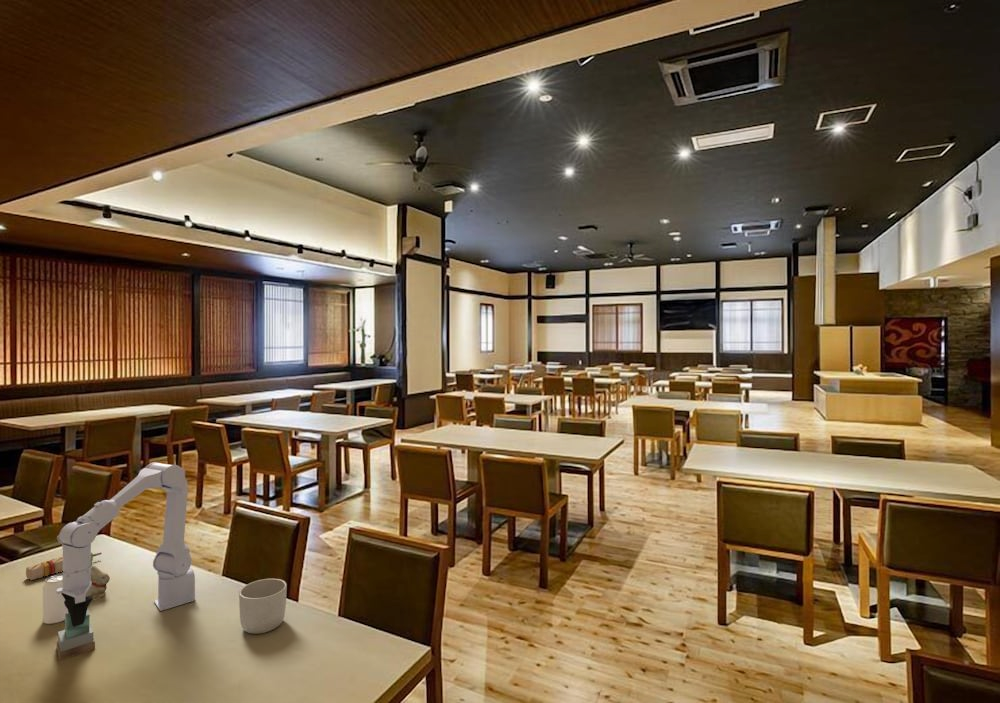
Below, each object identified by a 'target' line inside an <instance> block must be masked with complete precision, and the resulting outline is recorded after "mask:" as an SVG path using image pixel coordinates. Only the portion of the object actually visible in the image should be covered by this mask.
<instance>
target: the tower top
mask: <svg viewBox="0 0 1000 703" xmlns="http://www.w3.org/2000/svg"><path fill="white" fill-rule="evenodd" d="M93 638H94V630H93V628H92V625H91V622H90V621H89V632H86V633H83V634H80V635H76V636H73V637H70V638H67V637H66V633H65V629H63V630H59V631H57V641H58V643H59V647H60V651H61V652H62V651H65V650H68V649H71V648H75V647H78V646H81V645H84V644H87V643H90V642H93Z"/></svg>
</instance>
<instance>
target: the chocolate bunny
mask: <svg viewBox="0 0 1000 703" xmlns="http://www.w3.org/2000/svg"><path fill="white" fill-rule="evenodd" d="M110 580H111V579H110V575H109V574H108V573H107V572H103V571H101V570H100V568H98V567H97V566H95V565H91V582H92V585H91V587H90V588H89V590H88V591H87V593H86V596H85V597H87V596H90V595H92V596H93V599H92V601H94V599H95V600H98V599H102V598H104V597H106V595H107V592H106V591H107V584H108V583H109V581H110ZM103 596H104V597H103Z"/></svg>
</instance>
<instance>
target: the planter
mask: <svg viewBox="0 0 1000 703" xmlns="http://www.w3.org/2000/svg"><path fill="white" fill-rule="evenodd" d="M287 585H288V584H287V582H286V581H285V580H283V579H281V578H264V579H258V580H255V581H252V582H249V583H247V584H246V585H244V586H243V587H241V588H240V590H239V591H238V596H239V599H238V600H239V601H238V602H239V603H238V606H239V621H240V626H241V628H242V629H243V631H245V632H246V633H247V634H248V633H249V634H254V635H256V634H257V635H258V634H259V635H260V634H264V633H268V632H271V631H272V630H275V629H276V628H277V627H279V626H280V625H281V624H282V623H283V621H284V619H285V614H286V609H287V590H288V589H287V588H288V587H287Z"/></svg>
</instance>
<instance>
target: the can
mask: <svg viewBox="0 0 1000 703" xmlns="http://www.w3.org/2000/svg"><path fill="white" fill-rule="evenodd" d="M62 586H63V573H57V574H53V575H50V576H48V577H47V578H46V579H45V580H44V584H43V586H42V623H44V624H45V625H55V624H60V623H61V622H65V614H68V613H69V612H68V609H67V607H66V606H65V604H64V601H66V600H65V598H64V597H63V595H62V594H61V593H60V594H57V592H56V590H57V589H59V588H62Z"/></svg>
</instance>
